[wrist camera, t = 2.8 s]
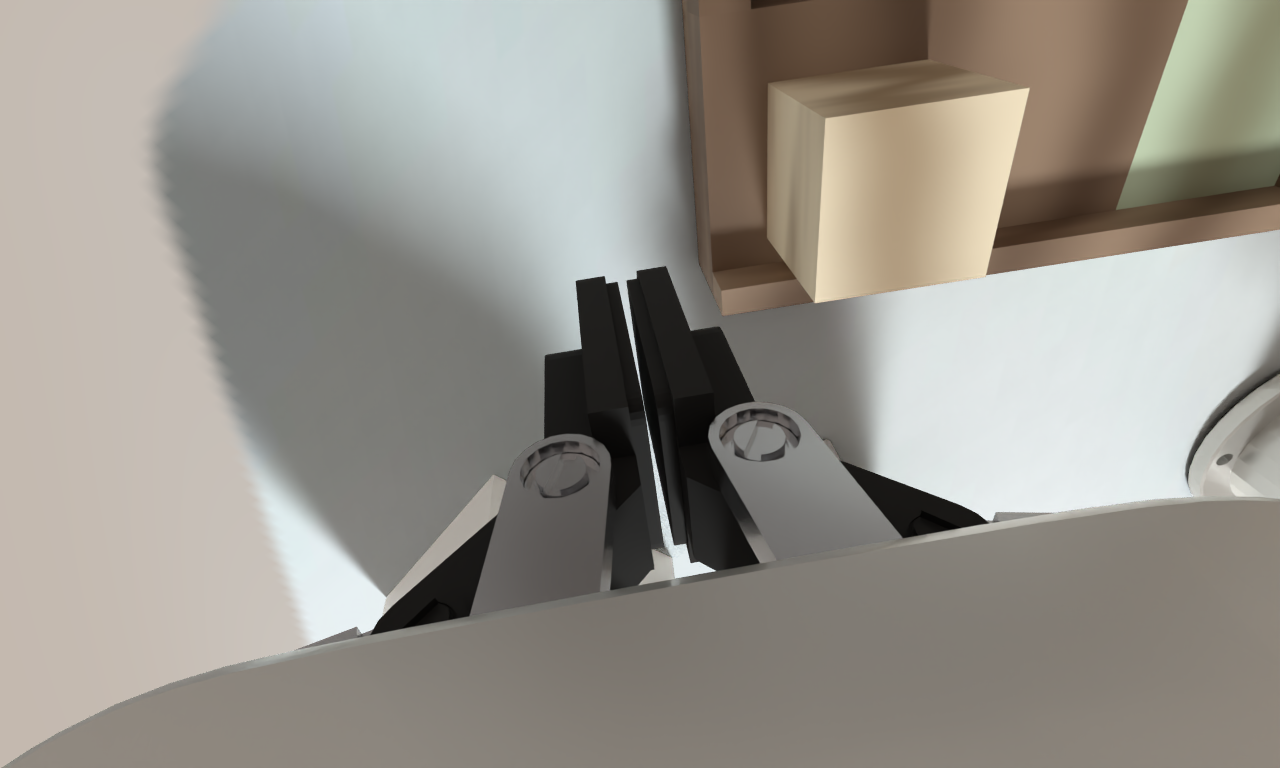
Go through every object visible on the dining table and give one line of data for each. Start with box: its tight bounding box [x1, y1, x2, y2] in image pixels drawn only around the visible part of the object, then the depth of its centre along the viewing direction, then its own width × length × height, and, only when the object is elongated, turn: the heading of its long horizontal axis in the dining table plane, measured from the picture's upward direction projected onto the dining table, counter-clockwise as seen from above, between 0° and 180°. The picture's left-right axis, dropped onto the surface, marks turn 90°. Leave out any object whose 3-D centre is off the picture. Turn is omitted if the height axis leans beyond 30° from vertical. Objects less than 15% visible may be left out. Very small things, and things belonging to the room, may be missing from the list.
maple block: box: [767, 59, 1030, 303], centre depth 18 cm, size 5×5×5 cm
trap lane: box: [682, 0, 1280, 316], centre depth 19 cm, size 22×16×5 cm
